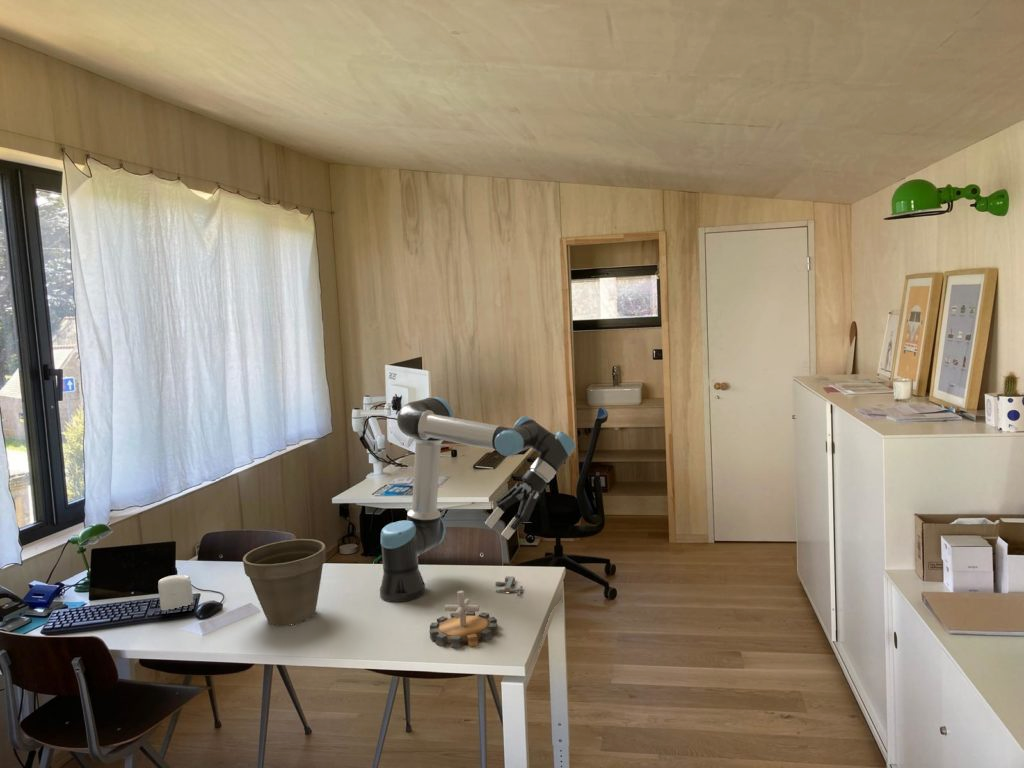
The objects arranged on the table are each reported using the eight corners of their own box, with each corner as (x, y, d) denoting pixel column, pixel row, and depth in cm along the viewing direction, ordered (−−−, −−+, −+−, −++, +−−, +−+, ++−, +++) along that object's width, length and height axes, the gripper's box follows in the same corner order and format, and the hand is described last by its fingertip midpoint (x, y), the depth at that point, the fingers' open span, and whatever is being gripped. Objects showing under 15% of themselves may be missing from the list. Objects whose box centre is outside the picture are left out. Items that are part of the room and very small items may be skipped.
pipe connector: (475, 632, 216) (472, 598, 215) (441, 632, 219) (438, 598, 218) (484, 618, 226) (481, 585, 225) (452, 617, 228) (449, 585, 227)
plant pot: (246, 639, 228) (239, 568, 226) (251, 609, 251) (245, 545, 249) (332, 625, 234) (326, 556, 232) (329, 597, 258) (323, 534, 256)
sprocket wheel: (416, 637, 221) (415, 629, 221) (463, 614, 236) (462, 606, 236) (464, 653, 209) (464, 644, 208) (511, 628, 223) (511, 620, 223)
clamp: (497, 576, 263) (526, 575, 262) (497, 582, 264) (526, 582, 262) (489, 592, 249) (520, 592, 247) (490, 598, 249) (520, 598, 247)
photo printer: (159, 616, 251) (155, 579, 250) (163, 611, 255) (159, 575, 254) (192, 612, 253) (188, 576, 251) (195, 607, 257) (191, 571, 256)
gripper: (564, 491, 227) (520, 549, 223) (530, 476, 250) (489, 528, 246) (547, 476, 224) (502, 534, 220) (514, 462, 247) (473, 514, 243)
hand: (495, 531), depth 233 cm, fingers open, 13 cm apart
